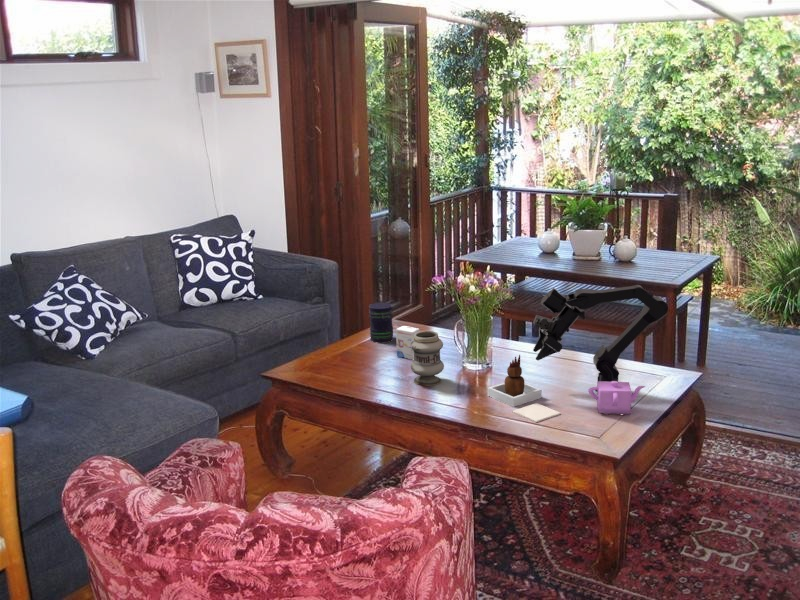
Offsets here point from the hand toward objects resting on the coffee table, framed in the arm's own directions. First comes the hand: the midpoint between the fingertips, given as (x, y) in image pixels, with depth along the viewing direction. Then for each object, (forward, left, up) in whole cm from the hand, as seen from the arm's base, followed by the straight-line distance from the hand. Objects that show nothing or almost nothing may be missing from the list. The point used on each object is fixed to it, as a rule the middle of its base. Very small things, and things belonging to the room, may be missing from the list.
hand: (535, 355), depth 296 cm
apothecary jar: (+32, +22, -13) cm, 41 cm away
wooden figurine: (+1, +9, -13) cm, 16 cm away
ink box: (+59, +11, -14) cm, 62 cm away
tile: (-15, +13, -13) cm, 24 cm away
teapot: (-30, -8, -14) cm, 34 cm away
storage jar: (+85, +6, -13) cm, 87 cm away
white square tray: (+1, +9, -13) cm, 16 cm away
